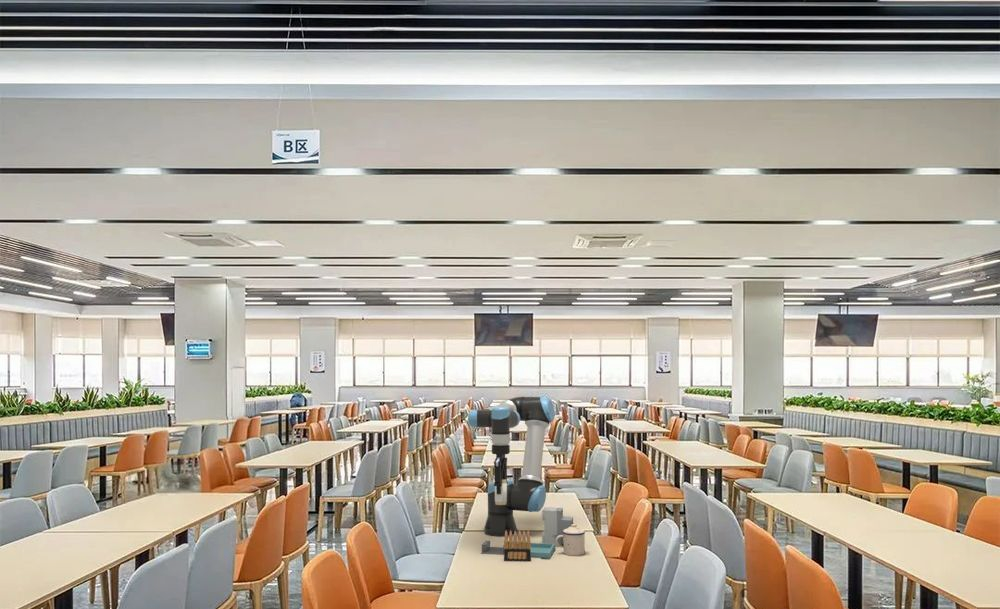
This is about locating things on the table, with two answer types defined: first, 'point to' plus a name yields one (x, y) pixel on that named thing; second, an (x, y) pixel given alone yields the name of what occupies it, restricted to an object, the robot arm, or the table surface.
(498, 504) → the cylinder
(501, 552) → the grey square holder base
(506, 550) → the ammunition clip
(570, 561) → the table surface
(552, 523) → the circuit breaker
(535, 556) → the parts tray
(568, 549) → the teacup with lid
